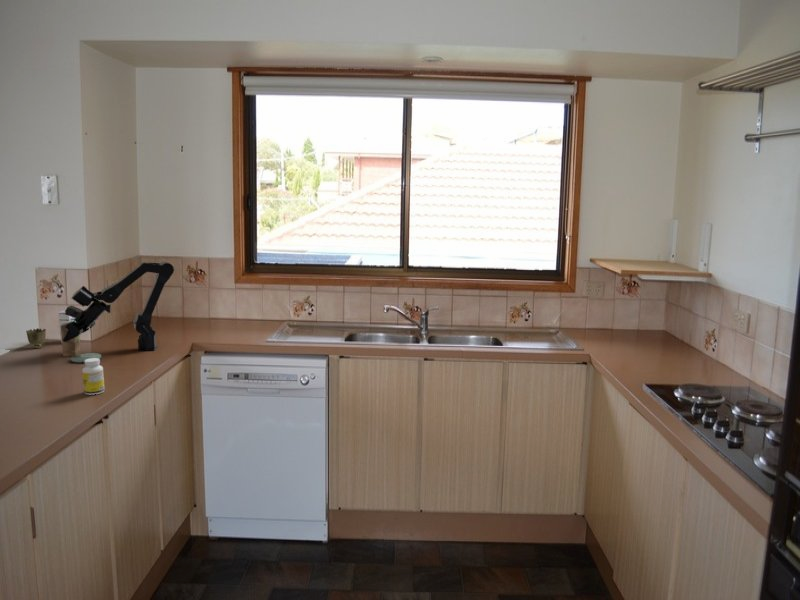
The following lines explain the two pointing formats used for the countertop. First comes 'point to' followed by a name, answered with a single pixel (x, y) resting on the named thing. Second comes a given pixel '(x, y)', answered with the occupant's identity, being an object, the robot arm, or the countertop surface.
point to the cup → (36, 337)
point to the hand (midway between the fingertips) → (67, 339)
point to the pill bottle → (93, 377)
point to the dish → (85, 357)
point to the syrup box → (64, 320)
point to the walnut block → (69, 343)
